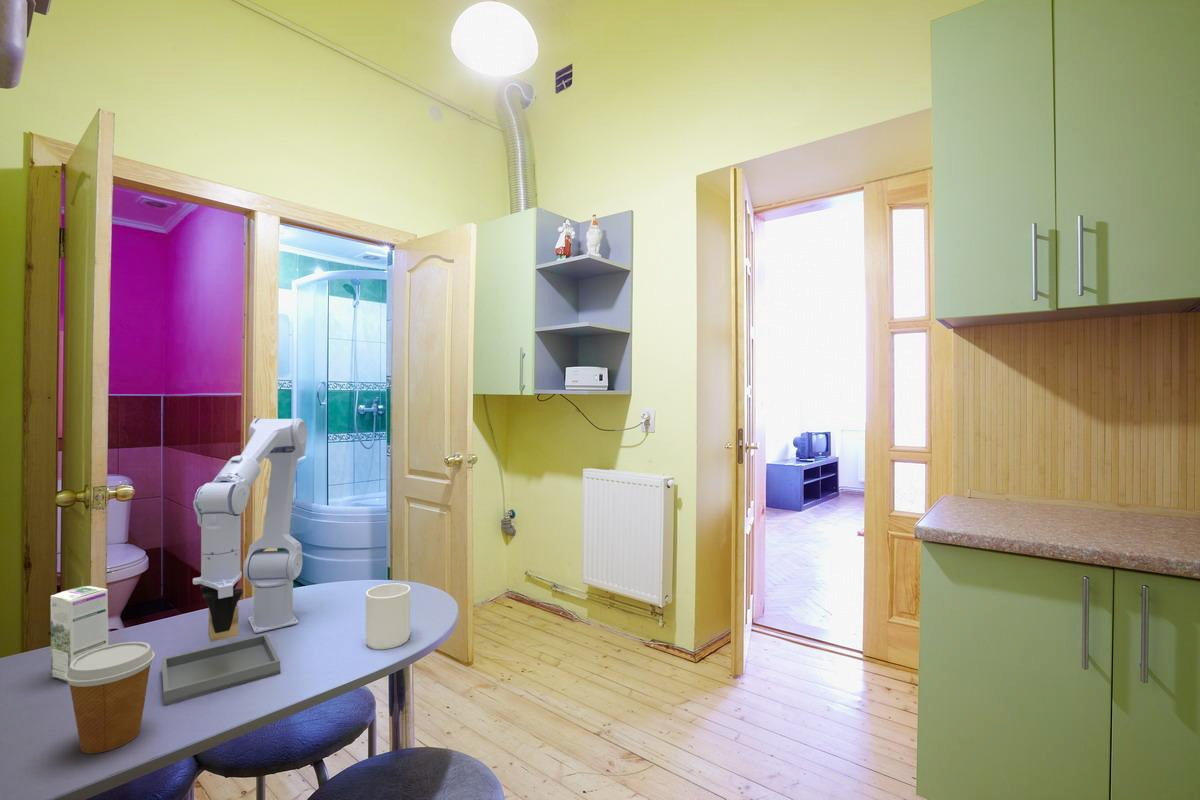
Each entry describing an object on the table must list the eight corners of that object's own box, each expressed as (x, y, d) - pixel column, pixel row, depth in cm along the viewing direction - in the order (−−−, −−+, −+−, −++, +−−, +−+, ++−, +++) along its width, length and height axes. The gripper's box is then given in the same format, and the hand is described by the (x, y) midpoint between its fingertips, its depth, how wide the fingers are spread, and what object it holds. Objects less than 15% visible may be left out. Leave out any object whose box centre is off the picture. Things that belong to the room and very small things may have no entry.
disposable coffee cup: (102, 721, 82) (103, 641, 82) (170, 718, 82) (170, 639, 82) (43, 763, 72) (43, 673, 72) (120, 760, 73) (120, 670, 73)
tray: (161, 671, 96) (161, 658, 96) (266, 645, 107) (266, 634, 107) (164, 705, 86) (164, 691, 86) (280, 673, 96) (280, 660, 96)
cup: (375, 654, 103) (376, 601, 103) (351, 634, 112) (352, 585, 112) (417, 640, 109) (417, 590, 109) (391, 623, 118) (391, 576, 118)
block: (208, 634, 97) (208, 606, 97) (235, 628, 99) (235, 601, 99) (210, 642, 94) (210, 613, 94) (238, 635, 96) (238, 607, 96)
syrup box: (110, 668, 97) (110, 587, 97) (69, 684, 92) (69, 598, 92) (90, 663, 99) (90, 583, 99) (48, 678, 94) (48, 594, 94)
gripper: (190, 545, 99) (189, 619, 99) (196, 564, 88) (195, 648, 88) (236, 539, 104) (236, 610, 104) (247, 556, 93) (247, 636, 93)
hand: (220, 627), depth 96 cm, fingers closed on block, 4 cm apart
